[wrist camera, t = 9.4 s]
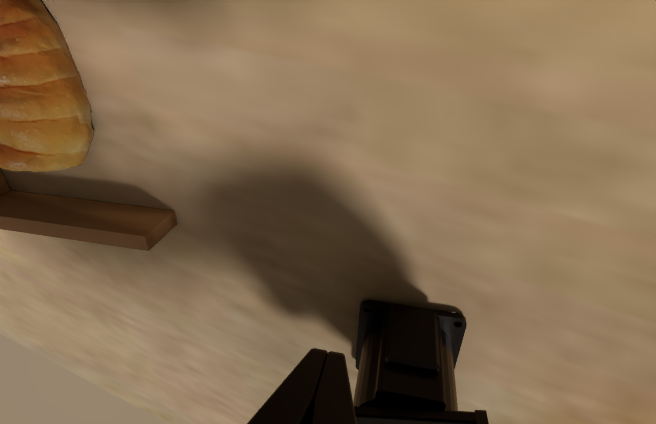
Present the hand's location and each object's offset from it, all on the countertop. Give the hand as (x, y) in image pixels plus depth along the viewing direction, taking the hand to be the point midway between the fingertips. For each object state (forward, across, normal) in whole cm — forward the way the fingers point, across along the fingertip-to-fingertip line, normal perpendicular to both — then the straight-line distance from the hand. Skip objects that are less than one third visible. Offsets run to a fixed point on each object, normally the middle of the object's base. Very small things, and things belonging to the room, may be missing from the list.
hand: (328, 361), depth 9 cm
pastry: (+12, +20, -3) cm, 23 cm away
